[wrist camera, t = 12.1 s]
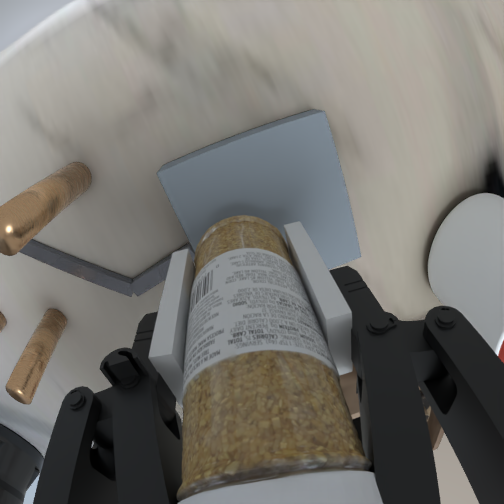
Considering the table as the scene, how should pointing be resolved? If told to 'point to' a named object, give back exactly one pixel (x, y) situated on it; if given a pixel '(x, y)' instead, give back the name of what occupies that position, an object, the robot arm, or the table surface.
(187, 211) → the pad
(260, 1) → the table surface
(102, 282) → the wire course
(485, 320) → the cup
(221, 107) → the table surface
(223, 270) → the sprinkles bottle
